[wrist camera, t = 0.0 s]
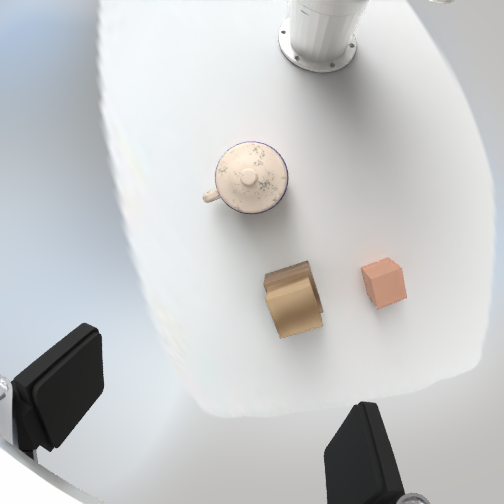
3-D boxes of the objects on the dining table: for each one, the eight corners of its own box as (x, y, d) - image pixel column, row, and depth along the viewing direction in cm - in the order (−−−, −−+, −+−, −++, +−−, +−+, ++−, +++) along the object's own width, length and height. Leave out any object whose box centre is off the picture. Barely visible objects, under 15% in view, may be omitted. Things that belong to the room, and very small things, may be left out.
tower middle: (267, 286, 42) (265, 300, 37) (307, 274, 41) (310, 286, 36) (280, 322, 43) (280, 338, 38) (319, 310, 42) (322, 325, 37)
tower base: (265, 274, 47) (263, 284, 42) (307, 260, 46) (310, 269, 41) (279, 311, 48) (279, 325, 43) (319, 299, 47) (323, 311, 42)
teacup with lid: (273, 140, 42) (269, 125, 31) (296, 195, 43) (301, 199, 32) (201, 171, 44) (175, 168, 33) (224, 224, 46) (205, 238, 34)
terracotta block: (360, 267, 45) (371, 279, 39) (388, 257, 44) (401, 267, 38) (367, 294, 46) (377, 308, 40) (394, 284, 45) (406, 297, 39)
